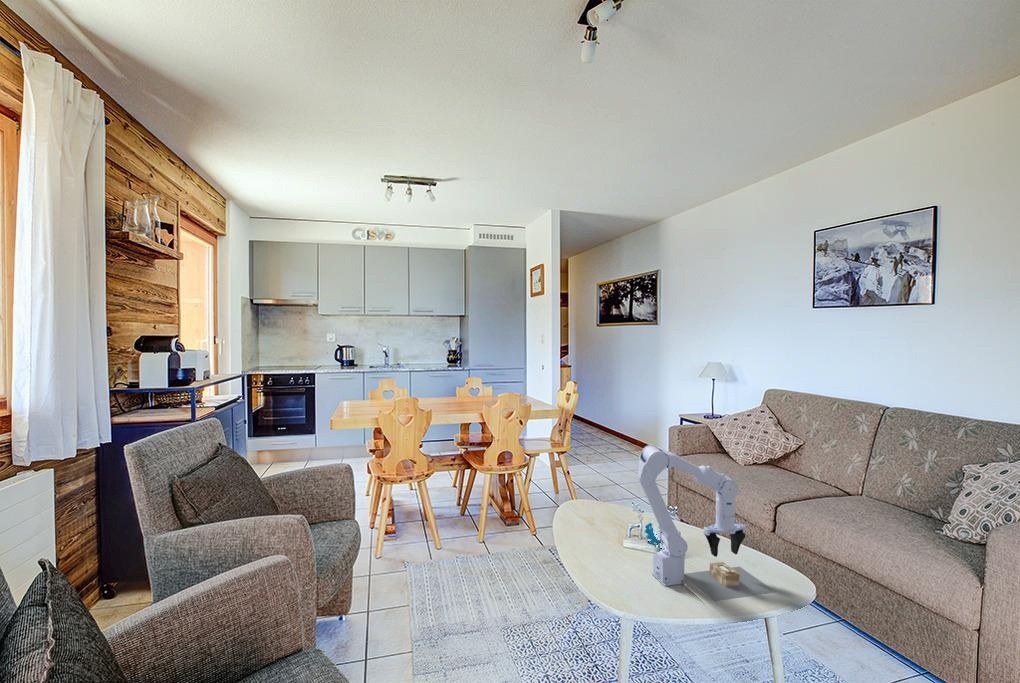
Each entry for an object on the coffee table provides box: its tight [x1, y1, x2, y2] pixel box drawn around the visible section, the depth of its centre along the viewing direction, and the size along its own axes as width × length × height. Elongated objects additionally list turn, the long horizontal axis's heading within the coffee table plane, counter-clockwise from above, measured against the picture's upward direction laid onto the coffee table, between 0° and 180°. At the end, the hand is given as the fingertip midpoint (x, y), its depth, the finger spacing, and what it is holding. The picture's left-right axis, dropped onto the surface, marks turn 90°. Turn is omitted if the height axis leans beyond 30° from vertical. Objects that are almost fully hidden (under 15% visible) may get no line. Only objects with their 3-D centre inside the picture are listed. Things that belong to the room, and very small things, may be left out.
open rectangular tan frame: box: [709, 561, 739, 587], centre depth 154 cm, size 8×5×4 cm, turn 13°
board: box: [684, 566, 777, 602], centre depth 152 cm, size 22×16×4 cm
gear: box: [644, 522, 661, 546], centre depth 181 cm, size 11×6×10 cm
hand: (724, 554), depth 156 cm, fingers open, 7 cm apart
